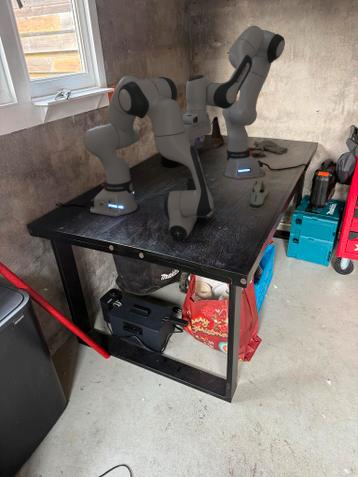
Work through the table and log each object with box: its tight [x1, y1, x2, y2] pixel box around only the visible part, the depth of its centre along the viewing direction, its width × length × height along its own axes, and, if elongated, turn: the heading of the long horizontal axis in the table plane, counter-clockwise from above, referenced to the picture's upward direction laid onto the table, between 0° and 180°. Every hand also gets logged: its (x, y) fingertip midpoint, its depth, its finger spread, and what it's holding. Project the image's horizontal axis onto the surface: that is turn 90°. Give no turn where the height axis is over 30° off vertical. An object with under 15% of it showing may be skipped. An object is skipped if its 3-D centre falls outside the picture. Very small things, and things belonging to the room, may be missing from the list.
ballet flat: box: [249, 179, 269, 207], centre depth 158 cm, size 8×24×8 cm, turn 163°
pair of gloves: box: [247, 139, 289, 158], centre depth 226 cm, size 30×26×5 cm
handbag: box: [160, 154, 180, 168], centre depth 210 cm, size 21×9×25 cm, turn 148°
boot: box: [210, 116, 225, 149], centre depth 246 cm, size 9×24×20 cm, turn 168°
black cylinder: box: [186, 175, 196, 190], centre depth 145 cm, size 5×5×17 cm
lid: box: [194, 141, 204, 149], centre depth 153 cm, size 6×6×2 cm
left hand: (193, 201), depth 148 cm, fingers closed on black cylinder, 5 cm apart
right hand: (197, 147), depth 154 cm, fingers closed on lid, 5 cm apart
